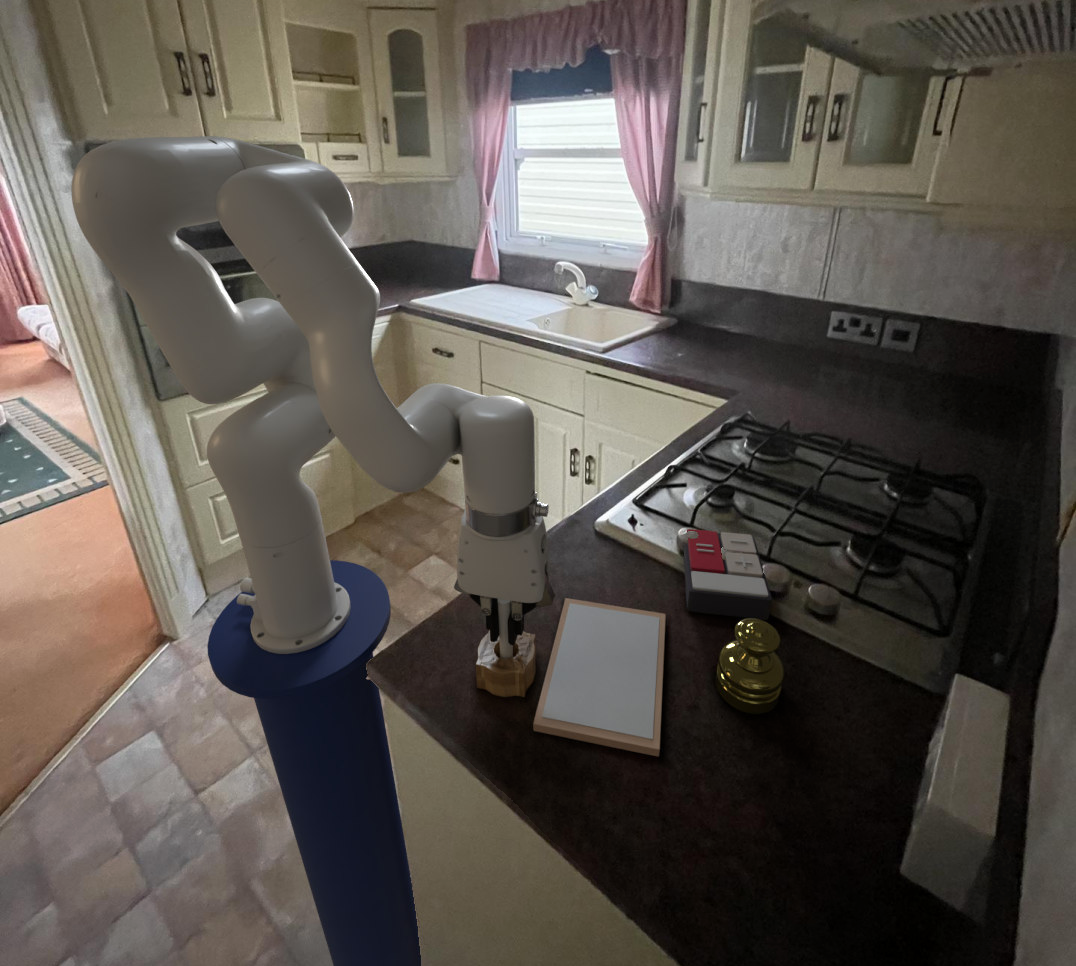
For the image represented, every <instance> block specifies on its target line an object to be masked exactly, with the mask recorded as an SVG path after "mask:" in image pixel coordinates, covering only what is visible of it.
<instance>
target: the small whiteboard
mask: <svg viewBox="0 0 1076 966" xmlns="http://www.w3.org/2000/svg"><path fill="white" fill-rule="evenodd" d="M665 637H666V613H662V612H657V611H650V610H643V609H637V608H630V607H625V606H618V605H612V604H605V603H598V602H593V601H587V600H579V599H573V598H566V597H565V598H564V603H563V607H562V611H561V614H560V618H559V622H558V625H557V629H556V634H555V638H554V642H553V645H552V648H551V653H550V657H549V661H548V665H547V668H546V673H545V677H544V681H543V684H542V688H541V692H540V696H539V700H538V703H537V707H536V711H535V716H534V718H533V725H532V727H533V728H532V729H533V732H537V733H542V734H547V735H551V736H555V737H561V738H567V739H571V740H576V741H580V742H585V743H591V744H595V745H600V746H604V747H610V748H615V749H620V750H625V751H630V752H635V753H638V754H643V755H644V754H645V755H648V756H653V757H660V750H661V730H662V729H661V727H662V705H663V685H664V680H663V679H664V664H665V663H664V661H665V641H666V640H665V639H666V638H665Z"/></svg>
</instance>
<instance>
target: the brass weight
mask: <svg viewBox="0 0 1076 966" xmlns="http://www.w3.org/2000/svg"><path fill="white" fill-rule="evenodd" d="M733 633H734V637H735V639H733V640H730V641H728V642H726V643H725V644H724V645H723V646H722V647H721V649H720V650H719V654H718V663H717V665H716V666H717V667H716V675H715V686H716V689H717V691H718V693H719V695H720V696H721V698H722V699H723V700H724V701H725V702H726V703H727V704H728V705H729V706H731V707H732V708H734V709H736V710H738V711H740V712H742V713H746V714H751V715H761V714H766V713H768V712H770V711H772V710H773V709H774V708H775V707H776V706H777V704H778V702H779V700H780V699H779V698H780V695H781V692H782V688H783V682H784V680H785V675H786V672H785V666H784V664H783V661H782V660H781V658H780V656H779V655H778V654H777V653H776V651H777V650H778V649H779V647H780V645H781V637H780V634H779V632H778V630H777V629H776V628H775V627H774V626H773V625H772V624H770V623H769V622H768V621H766V620H761V619H755V618H743V619H741V620H739V621H738V622H737V623H736V624H735V627H734V632H733Z"/></svg>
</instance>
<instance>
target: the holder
mask: <svg viewBox="0 0 1076 966" xmlns="http://www.w3.org/2000/svg"><path fill="white" fill-rule="evenodd" d="M487 631H488V632H487V634H485V635H484V636H483V637H482V638H481V640H480V642H479V644H478V647H477V648H476V649H477V659H476V661H475V675H476V688H477V689H482V690H486V691H487V692H489V693H490V694H492V695H494V696H498V697H503V698H509V697H514V696H516V697H522V698H525V697H526V694H527V691H528V689H529V688H530V686H531V685H532V684H533V683H534V680H535V677H536V669H537V668H536V667H537V666H536V664H537V663H536V661H537V660H536V658H537V642H536V641H537V638H536V637H537V635H536V634H534V633H528V632H525V631H524V630H523V634H522V636H521V635H518V636H517V639H516V642H515V645H513V658H511V659H506V660H505V659H500V642H499V637H498V639H497V641H495V642H491V641H490V630H487Z"/></svg>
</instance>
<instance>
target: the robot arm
mask: <svg viewBox="0 0 1076 966" xmlns="http://www.w3.org/2000/svg"><path fill="white" fill-rule="evenodd" d="M73 171H74V172H73V175H72V178H71V179H72V180H71V187H70V188H71V189H70V192H71V194H70V195H71V202H72V203H71V204H72V207H73V211H74V215H75V218H76V221H77V223H78V227H79V229H80V231H81V232H82V234H83V236H84V238H85V239H86V241H87V243H88V245H89V246H90V247H91V248H92V250H93V251H94V252H95V254H96V255H97V256H98V258H99V259H100V260H101V261H102V262H103V264H104V266H106V268H108V270H109V271H110V272H111V273H112V274H113V276H114V277H115V278H116V279H117V281H118V282H119V284H120V285H121V286H122V287H123V288H124V290H125V291H126V292H127V294H128V295H129V297H130V299H131V300H132V302H133V303H134V305H135V306H136V309H137V310H138V312H139V315H140V316H141V318H142V320H143V322H145V323H144V324H145V325H146V327H147V328H148V330H149V332H150V334H151V335H152V337H153V338H154V340H155V342H156V344H157V346H158V347H159V349H160V350H161V353H162V354H163V356H164V358H165V359H166V361H167V363H168V364H169V366H170V368H171V370H172V371H173V373H174V374H175V377H176V378H177V380H178V381H179V382H180V384H181V386H182V387H183V389H184V390H186V393H188V395H190V396H191V397H192V398H193V399H195V400H196V401H198V402H200V403H203V404H205V405H221V404H225V403H229V402H230V401H232V400H234V399H237V398H239V397H241V396H243V395H245V394H246V393H249V392H251V391H253V390H254V389H256V388H257V387H259V386H261V385H263V386H264V387H265V389H266V391H267V392H266V393H265V394H263V395H262V396H259V397H257V398H255V399H254V400H252V401H251V402H249V403H247V404H246V405H244V406H242V407H241V408H239V409H237V410H236V411H234V412H233V413H231V414H230V415H229V416H227V417H226V418H225V419H223V421H222V422H220V423H219V424H218V425H217V426H216V427H215V429H214V430H213V432H212V433H211V435H210V437H209V438H208V441H207V445H206V457H207V461H208V464H209V467H210V469H211V471H212V473H213V474H214V477H215V478H216V480H217V483H219V485H220V487H221V489H222V491H223V493H224V495H225V497H226V500H227V501H228V504H229V508H230V510H231V512H232V516H233V519H234V523H235V526H236V530H237V532H238V536H239V539H240V542H241V546H242V549H243V553H244V557H245V560H246V561H245V562H246V564H247V568H248V569H247V570H248V572H249V575H250V577H244V578H243V579H242V580H241V582H240V585H239V590H240V593H241V592H247V593H253V594H255V595H254V596H251V595H246V594H240V593H239V594H240V595H239V594H238V595H239V596H238V598H237V603H238V604H240V605H246V606H248V605H249V606H251V607H252V608H253V612H254V615H253V617H252V620H251V633H252V636H253V639H254V641H255V642H256V644H257V645H258V646H259V647H261V648H262V649H264V650H266V651H268V652H272V653H277V654H291V653H298V652H302V651H306V650H309V649H311V648H314V647H316V646H318V645H320V644H322V643H324V642H326V641H327V640H329V639H330V638H331V637H333V636H334V635H335V634H336V633H337V632H338V631H339V630H340V629H341V628H342V627H343V625H344V624H345V623H346V621H347V619H348V617H349V614H350V609H351V606H350V599H349V595H348V593H347V591H346V590H345V589H344V588H343V587H342V586H341V585H339V584H337V583H335V582H334V579H333V574H332V568H331V563H330V560H331V559H330V554H329V553H330V552H329V548H328V543H327V537H326V534H325V528H324V522H323V517H322V512H321V508H320V504H319V500H318V497H317V495H316V493H315V491H314V490H313V488H311V486H309V485H308V484H307V483H306V482H305V481H303V479H302V478H301V474H300V473H301V470H302V468H303V467H304V466H305V465H306V464H307V463H308V462H309V461H310V460H311V459H312V458H313V457H314V456H315V455H316V454H318V453H319V452H321V450H322V449H324V448H325V447H326V446H328V444H330V442H332V441H333V440H334V439H335V438H337V440H338V441H339V442H340V444H341V445H342V446H343V447H344V448H345V450H346V451H347V452H348V454H349V455H350V456H351V457H352V459H353V460H354V461H355V462H356V464H358V466H359V467H360V468H361V469H362V470H363V471H364V472H365V474H367V475H368V476H369V477H370V478H371V479H372V480H373V481H375V482H376V483H377V484H378V485H381V486H382V487H384V488H385V489H387V490H390V491H392V492H395V493H403V494H408V493H409V494H410V493H414V492H415V493H416V492H417V491H421V490H422V489H424V488H425V487H428V486H429V485H430V484H431V483H432V482H433V481H434V480H435V478H437V476H438V475H439V474H440V472H441V471H442V470H443V469H444V468H445V466H446V465H447V463H448V462H449V461H450V459H451V458H452V457H453V456H457V455H460V456H461V459H462V460H461V464H462V477H463V478H462V479H463V488H464V489H463V490H464V504H465V505H464V507H465V508H464V510H463V512H462V515H461V519H460V523H459V524H460V525H459V528H458V537H457V547H456V548H457V550H456V581H455V582H454V585H453V588H454V590H455V591H457V592H459V593H460V594H462V595H465V596H467V597H468V596H469V597H470V600H471V599H472V601H474V603H476V604H477V605H478V606H479V607H480V612H481V613H482V614H483V615H484V616H485V627H486V630H487V631H489V630H490V641H491V642H495V641H497V639H498V637H499V620H498V599H503V600H510V601H511V607H512V609H511V612H510V615H509V618H508V622H507V623H508V643H509V644H510V645H515V642H516V639H517V636H518V635H521V636H522V634H523V631H524V630H525V616H526V614H528V613H531V611H533V610H535V609H536V608H537V607H538V608H543V607H551V606H553V604H554V601H555V597H556V594H555V592H554V589H553V587H552V585H551V582H550V575H551V556H550V547H549V539H548V533H547V527H546V523H545V519H544V517H545V518H547V517H548V515H549V509H550V508H549V507H550V505H549V504H548V503H543V502H542V501H539V498H538V492H537V491H536V448H535V447H536V441H535V438H536V437H535V435H536V434H535V429H536V428H535V416H534V413H533V410H532V408H531V407H530V405H529V404H528V403H526V402H525V401H523V400H522V399H519V398H518V397H515V396H510V395H489V396H487V395H483V394H480V393H476V392H473V391H470V390H468V389H467V390H466V389H464V388H461V387H458V386H454V385H451V384H448V383H442V382H433V383H428V384H425V385H423V386H421V387H420V388H418V389H417V390H415V391H414V392H413V393H412V394H411V395H410V396H409V397H408V398H407V399H406V400H405V401H403V402H402V403H401V404H400V405H399V406H396V405H395V404H394V403H393V402H392V400H391V398H390V397H389V395H388V394H387V392H386V391H385V389H384V387H383V385H382V383H381V382H380V379H379V376H378V373H377V370H376V367H375V363H374V359H373V352H372V351H373V349H372V348H373V347H372V344H373V343H372V342H373V332H374V329H375V326H376V325H375V324H376V321H377V317H378V312H379V308H380V304H381V293H380V290H379V288H378V286H376V284H375V283H374V281H373V280H372V279H371V277H370V276H369V275H368V274H367V272H366V271H365V269H364V268H363V267H362V265H361V264H360V263H359V260H357V259H356V257H355V255H354V254H353V253H352V251H350V249H349V247H348V246H347V244H346V243H345V242H344V241H343V239H342V237H343V236H344V235H346V234H347V233H348V231H349V230H350V228H351V227H352V223H353V221H354V211H355V210H354V209H355V208H354V202H353V200H352V199H353V198H352V196H351V193H350V191H349V190H348V188H347V185H346V184H345V183H344V182H343V181H342V179H341V178H340V177H339V175H337V174H336V173H335V172H334V171H332V170H331V169H329V167H327V166H325V165H323V164H321V163H319V162H317V161H314V160H310V159H309V158H305V157H300V156H297V155H293V154H289V153H286V152H282V151H279V150H275V149H272V148H268V147H266V146H265V147H264V146H262V145H257V144H255V143H250V142H247V141H244V140H240V139H236V138H231V137H225V136H215V135H213V136H212V135H211V136H210V135H208V136H207V135H204V136H201V135H200V136H154V137H153V136H152V137H151V136H150V137H133V138H125V139H124V138H123V139H120V140H115V141H110V142H107V143H104V144H101V145H98V146H96V147H95V148H92V149H91V150H90V151H87V153H85V155H83V156H82V158H81V159H80V160H79V161H78V163H77V165H76V167H75V169H74V170H73ZM215 222H219V224H220V226H221V227H222V229H223V231H224V232H225V235H226V236H227V237H228V239H230V241H231V242H232V243H233V245H234V246H235V247H236V249H237V250H238V251H239V253H240V254H241V255H242V256H243V258H244V259H245V260H246V262H247V263H248V264H249V266H250V267H251V268H252V269H253V271H254V272H255V273H256V275H257V276H258V278H260V279H261V281H262V282H263V284H264V285H265V286H266V287H267V289H268V290H269V291H270V293H271V294H272V296H274V298H275V299H276V300H275V299H273V298H269V297H268V298H267V297H254V298H249V299H246V300H243V301H240V302H237V303H234V301H233V300H232V298H231V297H230V295H229V293H228V292H227V290H226V288H225V285H224V283H223V281H222V279H221V277H220V275H219V274H218V272H217V271H216V270H215V268H214V267H213V265H212V264H211V263H210V262H209V261H208V260H207V259H206V258H205V256H203V255H202V254H201V253H200V252H198V251H197V250H196V248H194V247H193V246H192V245H190V244H188V243H187V242H185V241H184V240H183V239H181V238H180V237H178V235H177V232H178V231H179V230H180V229H184V228H189V227H194V226H201V225H205V224H210V223H215Z"/></svg>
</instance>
